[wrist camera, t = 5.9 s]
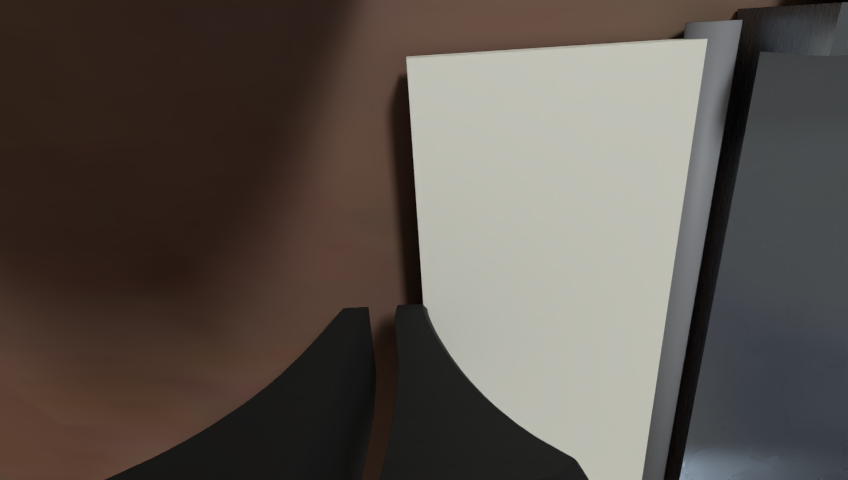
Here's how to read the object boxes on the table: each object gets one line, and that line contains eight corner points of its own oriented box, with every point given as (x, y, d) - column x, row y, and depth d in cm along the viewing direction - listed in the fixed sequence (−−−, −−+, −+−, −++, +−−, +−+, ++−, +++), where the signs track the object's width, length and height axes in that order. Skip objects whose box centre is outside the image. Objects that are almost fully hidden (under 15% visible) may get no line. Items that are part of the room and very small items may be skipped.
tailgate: (664, 519, 15) (439, 536, 15) (646, 486, 16) (436, 503, 16) (754, 19, 10) (405, 41, 9) (719, 20, 11) (405, 41, 11)
